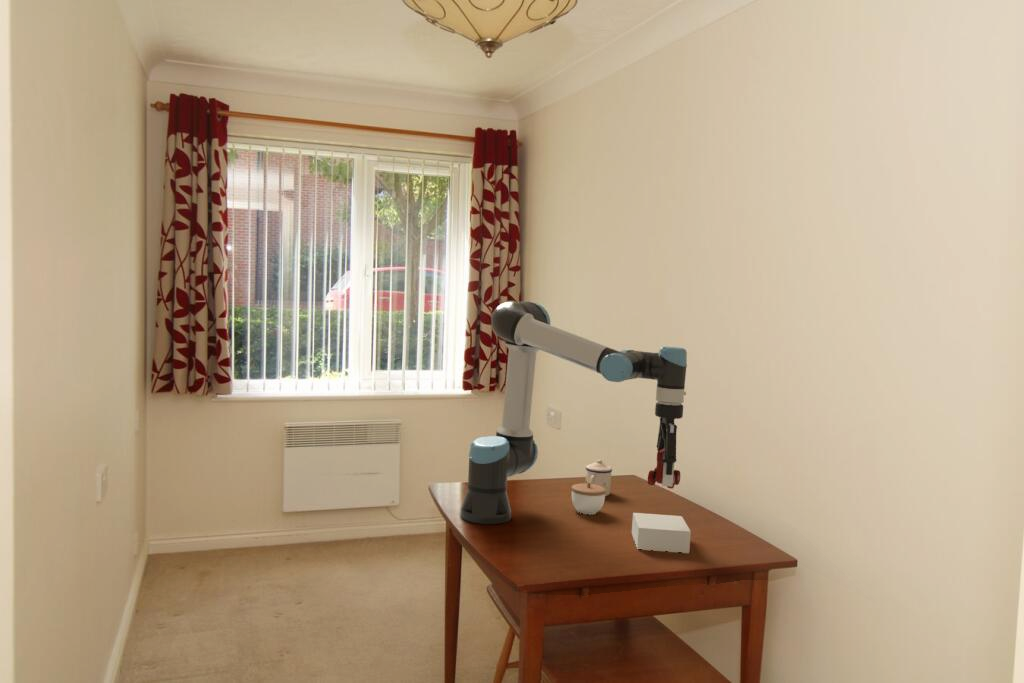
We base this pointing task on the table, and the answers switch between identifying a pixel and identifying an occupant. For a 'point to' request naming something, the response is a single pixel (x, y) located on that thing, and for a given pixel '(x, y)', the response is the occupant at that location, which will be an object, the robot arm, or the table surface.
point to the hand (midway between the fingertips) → (663, 480)
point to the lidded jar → (588, 497)
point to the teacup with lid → (599, 475)
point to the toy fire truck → (661, 471)
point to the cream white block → (660, 532)
